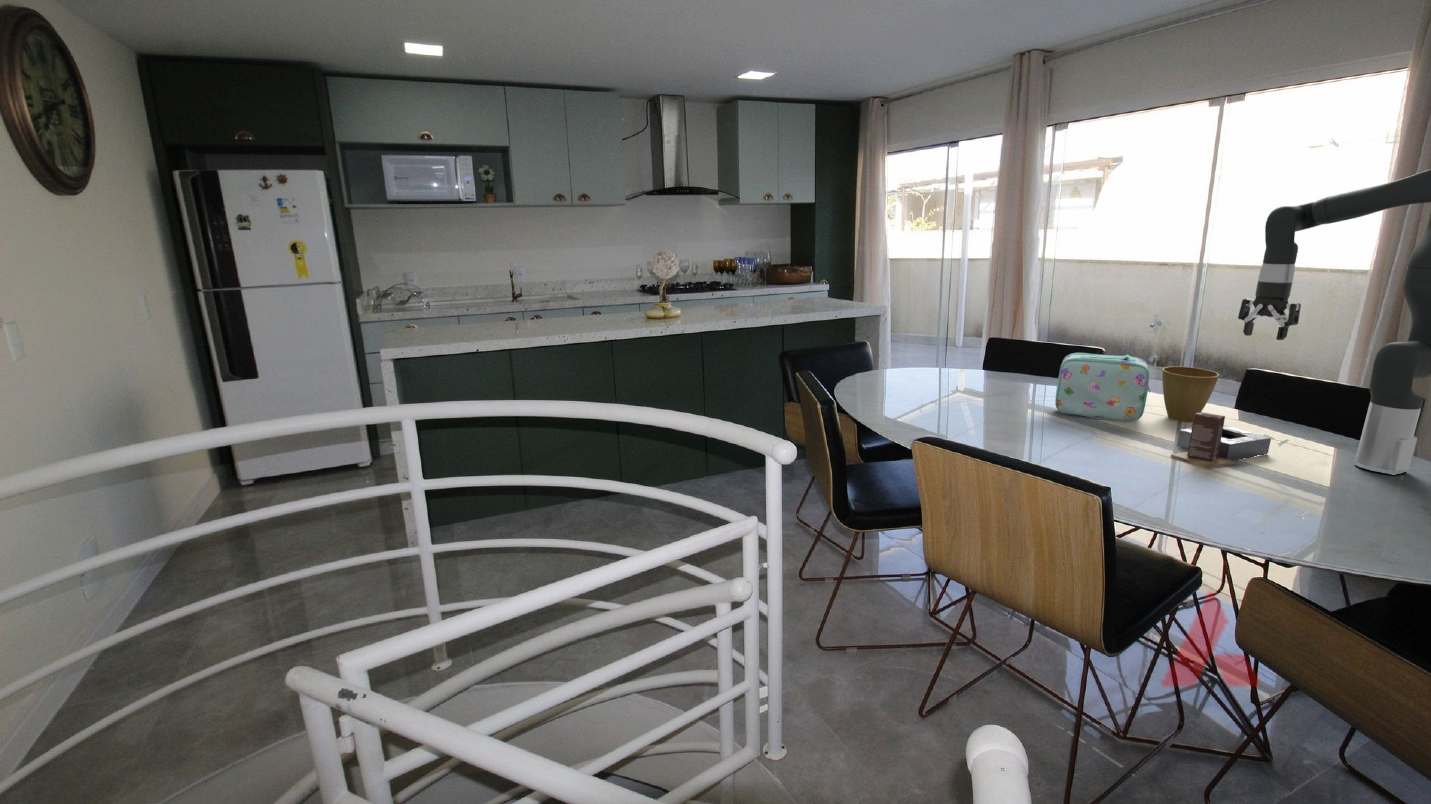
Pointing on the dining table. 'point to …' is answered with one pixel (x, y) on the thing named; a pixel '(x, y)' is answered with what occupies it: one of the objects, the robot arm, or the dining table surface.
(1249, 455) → the breaker guard
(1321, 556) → the dining table surface
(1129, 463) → the dining table surface
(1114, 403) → the lunch box
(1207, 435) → the box
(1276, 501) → the dining table surface
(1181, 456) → the walnut pad
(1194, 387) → the plant pot
